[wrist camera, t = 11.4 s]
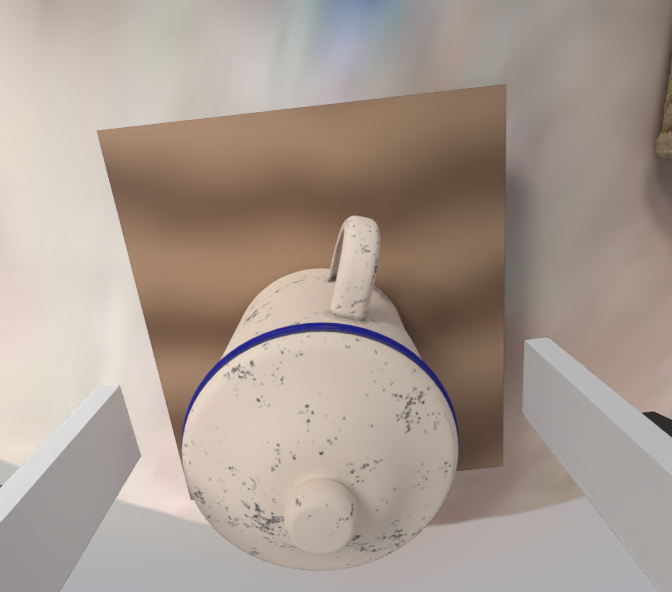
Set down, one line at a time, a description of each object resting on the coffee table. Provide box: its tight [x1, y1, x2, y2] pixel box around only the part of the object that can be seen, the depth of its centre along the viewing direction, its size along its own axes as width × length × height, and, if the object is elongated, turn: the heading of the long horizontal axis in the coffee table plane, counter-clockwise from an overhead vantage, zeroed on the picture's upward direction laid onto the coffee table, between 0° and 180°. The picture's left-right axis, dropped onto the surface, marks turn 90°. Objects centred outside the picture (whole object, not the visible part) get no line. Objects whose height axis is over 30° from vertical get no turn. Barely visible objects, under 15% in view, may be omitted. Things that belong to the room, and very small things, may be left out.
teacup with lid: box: [181, 216, 459, 571], centre depth 16 cm, size 12×9×12 cm
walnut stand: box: [97, 84, 506, 500], centre depth 25 cm, size 20×18×6 cm
